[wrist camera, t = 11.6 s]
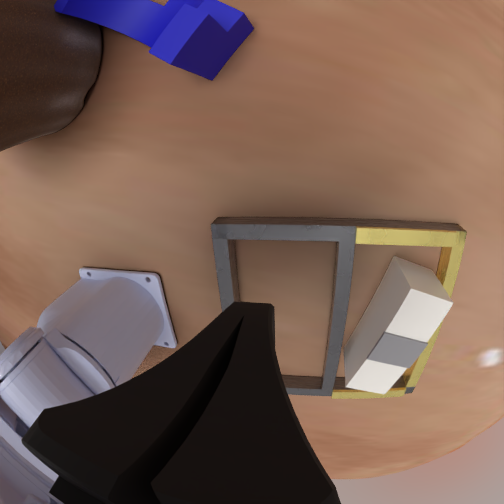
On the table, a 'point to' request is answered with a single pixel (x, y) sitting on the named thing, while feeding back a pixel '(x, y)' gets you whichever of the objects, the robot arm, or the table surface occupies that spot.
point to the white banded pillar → (395, 326)
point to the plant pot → (43, 68)
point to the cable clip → (172, 28)
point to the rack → (338, 279)
